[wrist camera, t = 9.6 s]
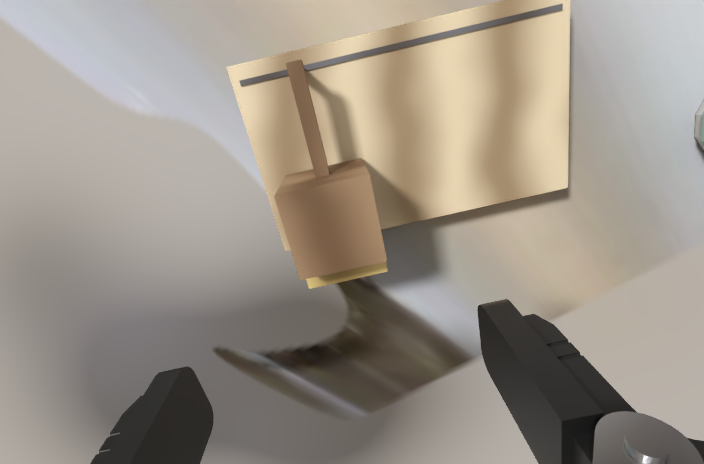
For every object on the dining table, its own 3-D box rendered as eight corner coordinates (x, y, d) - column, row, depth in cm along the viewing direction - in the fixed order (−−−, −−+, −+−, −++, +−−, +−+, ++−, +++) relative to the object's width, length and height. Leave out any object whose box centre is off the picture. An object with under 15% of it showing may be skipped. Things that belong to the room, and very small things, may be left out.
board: (549, -7, 22) (571, -16, 20) (551, 180, 26) (568, 188, 24) (235, 69, 22) (225, 66, 20) (288, 240, 27) (285, 251, 25)
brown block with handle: (339, 58, 22) (343, 44, 16) (377, 240, 27) (392, 285, 20) (261, 76, 22) (234, 70, 16) (313, 254, 27) (307, 304, 20)
